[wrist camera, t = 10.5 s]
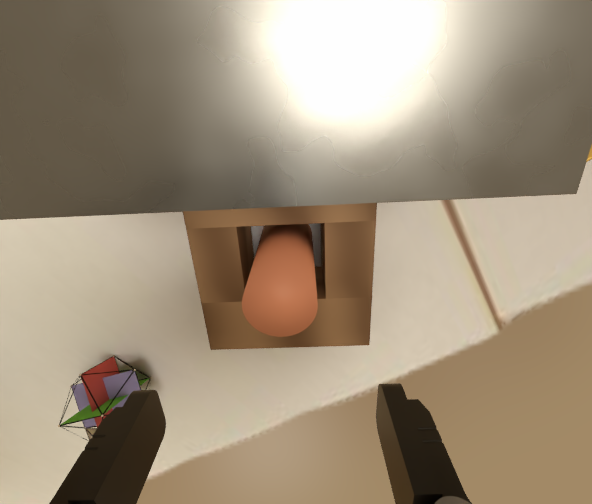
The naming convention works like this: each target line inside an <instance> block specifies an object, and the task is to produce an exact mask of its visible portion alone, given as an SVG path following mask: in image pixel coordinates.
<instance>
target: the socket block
mask: <svg viewBox="0 0 592 504" xmlns="http://www.w3.org/2000/svg"><path fill="white" fill-rule="evenodd" d="M376 209H377V203H361V204H338V205H316V206H294V207H271V208H249V209H227V210H205V211H183V215H184V220H185V225H186V230H187V234H188V239H189V244H190V249H191V254H192V259H193V264H194V269H195V274H196V279H197V284H198V289H199V294H200V299H201V304H202V309H203V314H204V318H205V323H206V328H207V333H208V338H209V343H210V348H211V350H216V349H250V348H284V347H318V346H352V345H369V340H370V321H371V302H372V284H373V265H374V246H375V228H376ZM311 223H321V259H322V266H320V267H315V277H316V289H317V301H318V310H317V314H316V317H315V319H314V320H313V322H312V323H311V324H310V325H309V326H308V327H307V328H306V329H305V330H303V331H302V332H300V333H298V334H295V335H292V336H286V337H276V336H270V335H267V334H264V333H262V332H260V331H258V330H257V329H255V328H254V327H253V326H252V325H251V324H250V323H249V322H248V321H247V319H246V318H245V316H244V313H243V310H242V298H243V294H244V291H245V287H246V284H247V281H248V278H249V274H250V271H251V268H252V265H253V262H254V252H253V243H252V235H251V226H264V225H288V224H311Z"/></svg>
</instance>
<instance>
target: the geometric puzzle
mask: <svg viewBox="0 0 592 504" xmlns="http://www.w3.org/2000/svg"><path fill="white" fill-rule="evenodd" d="M116 358H117V357H116ZM117 359H118V358H117ZM119 360H120V359H119ZM120 361H122V360H120ZM122 362H123V361H122ZM123 363H125V362H123ZM125 364H126V365H128V364H127V363H125ZM128 366H129V367H130V365H128ZM131 368H132V366H131ZM132 369H133V368H132ZM123 371H127V372H124V373H119V372H122V371H119V370H118V367H117V364H116V361H115V355H113V357H111V358H109V359H107V360H106V361H104V362H102V363H100V364H99V365H97V366H95V367H93V368H91V369H90V370H88V371H86V372H84V373H82V374H79V375H80V376H81V379H82V382H83V383H81V384H76V383H78V381H77V382H76V383H75V384H76V385H74V383H73V385H71V387H72V390H73V393H74V396H75V399H76V403H77V406H78V409H79V412H78V413H77V414H75V415H74V416H72V417H71V418H69V419H68V420H67V421H65V422H64V423H62V424H61V425H60V424H59V425H58V427H61V426H62V425H67V424H71V423H75V422H79V421H83V424H84V427H75V428H84V429H86V432H87V435H88V437H89V440H90V439H91V438H92V437H93V434H94V432H95V431H96V429H97V428H98V426H99V425H100V423H101V421H102V420H103V419H104V418H105V417H106V416H107V415H108V414H109V413H110V412H111V411H113V410H114V409H115V408H116V407H123V405H124V403H125V402H126V400H127V398H128V397H129V395H130V394H131V392H133V391H138V390H141V387H140V386H141V385H142V384H143V383H144V382H146V381H147V380H148V379H149V381H150V378H151V377H149V378H145V379H141V380H138V378H137V375H136V371H137V369H135V368H134V370H123ZM137 372H138V371H137ZM139 373H140V371H139ZM141 374H142V372H141ZM143 375H145V374H143ZM80 376H79V378H80ZM145 376H147V375H145ZM147 377H148V376H147ZM77 379H78V378H77ZM77 379H76V380H77ZM81 379H80V380H81ZM78 380H79V379H78ZM80 380H79V381H80ZM148 384H149V382H148ZM147 386H148V385H147ZM146 389H147V387H146ZM70 390H71V389H70ZM69 393H70V392H69ZM73 393H72V395H73ZM68 396H69V395H68ZM71 397H72V396H71ZM67 399H68V398H67ZM70 399H71V398H70ZM69 402H70V400H69ZM68 404H69V403H68ZM65 406H66V405H65ZM67 407H68V405H67ZM64 409H65V408H64ZM66 409H67V408H66ZM65 411H66V410H65ZM63 412H64V411H63ZM64 414H65V412H64ZM62 415H63V414H62ZM63 416H64V415H63ZM62 418H63V417H62ZM62 418H61V421H62ZM61 421H60V423H61ZM96 425H97V426H96ZM91 426H92V427H97V428H91ZM63 427H72V426H63ZM63 427H62V428H63ZM64 429H65V428H64ZM66 430H67V429H66ZM83 439H84V438H83ZM85 440H86V439H85ZM87 441H88V440H87Z"/></svg>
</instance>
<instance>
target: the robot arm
mask: <svg viewBox="0 0 592 504" xmlns="http://www.w3.org/2000/svg"><path fill="white" fill-rule="evenodd" d="M376 422H377V429H378V434H379V438H380V442H381V446H382V450H383V454H384V458H385V462H386V466H387V470H388V475H389V479H390V483H391V486H392V491H393V495H394V499H395V503H396V504H472V503H471V502H470V501H469V499H468V498H467V496H466V494H465V492H464V490H463V488H462V485H461V483H460V481H459V478H458V476H457V474H456V472H455V469H454V467H453V465H452V462H451V460H450V458H449V456H448V453H447V451H446V448H445V446H444V444H443V443H442V439H441V437H440V435H439V432H438V431H437V429H436V425H435V423H434V421H433V419H432V416H431V414H430V412H429V411H428V410H427V409H426V408H425V406H424V405H423V404H422V403H421V402H420V401H419V400H418V399H417V400H407V398H406V395H405V392H404V390H403V387H402V385H401V384H379V386H378V397H377V410H376ZM165 428H166V420H165V416H164V413H163V409H162V406H161V403H160V399H159V396H158V393H157V391H156V390H138V391H133V392H131V394H130V395H129V397H128V398H127V400H126V402H125V403H124V405H123V407H116V408H115V409H114V410H113V411H111V412H110V413H109V414H108V415H107V416H106V417H105V418H104V419H103V420H102V421H101V423H100V425H99V426H98V428H97V429H96V431H95V432H94V434H93V437H92V438H91V439H90V440H89V442H88V444H87V445H86V447H85V450H84V451H83V452H82V453H81V455H80V456H79V458H78V459H77V461H76V463H75V464H74V466H73V467H72V469H71V471H70V472H69V474H68V475H67V477H66V478H65V480H64V482H63V483H62V485H61V486H60V488H59V490H58V491H57V493H56V494H55V496H54V498H53V499H52V500H51V502H50V503H49V504H136V503H137V500H138V498H139V496H140V493H141V491H142V489H143V486H144V484H145V481H146V479H147V476H148V474H149V471H150V469H151V467H152V464H153V462H154V459H155V457H156V454H157V452H158V450H159V447H160V445H161V442H162V440H163V437H164V434H165Z"/></svg>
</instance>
